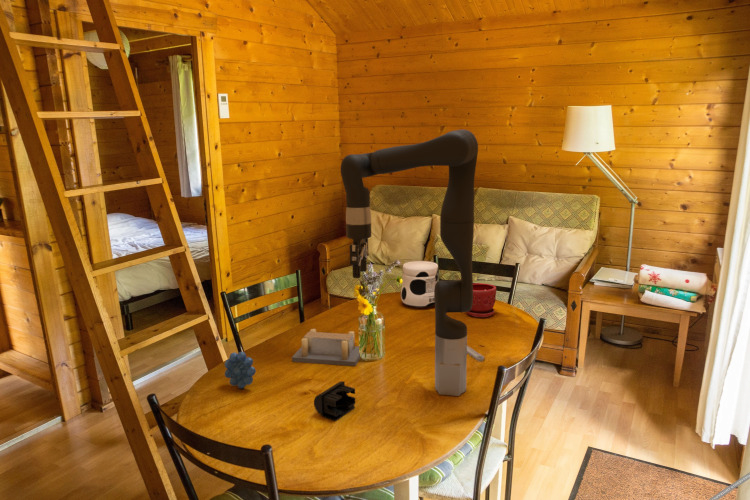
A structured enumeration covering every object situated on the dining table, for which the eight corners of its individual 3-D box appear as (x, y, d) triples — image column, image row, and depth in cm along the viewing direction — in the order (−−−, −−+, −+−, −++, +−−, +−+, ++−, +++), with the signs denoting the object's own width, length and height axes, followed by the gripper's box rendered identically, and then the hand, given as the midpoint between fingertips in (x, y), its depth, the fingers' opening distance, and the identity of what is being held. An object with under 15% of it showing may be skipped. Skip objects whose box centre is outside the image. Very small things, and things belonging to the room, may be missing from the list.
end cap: (336, 400, 159) (336, 378, 157) (356, 407, 155) (356, 384, 153) (313, 415, 151) (312, 392, 149) (334, 422, 147) (333, 399, 145)
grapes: (265, 386, 168) (263, 349, 166) (250, 395, 163) (248, 357, 160) (235, 378, 174) (233, 343, 171) (220, 387, 168) (217, 350, 165)
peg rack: (355, 366, 181) (354, 344, 180) (292, 361, 186) (291, 340, 184) (364, 350, 194) (364, 330, 192) (305, 346, 198) (304, 327, 197)
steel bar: (349, 356, 185) (349, 339, 184) (304, 353, 189) (303, 336, 187) (353, 350, 190) (352, 334, 189) (309, 347, 193) (308, 331, 192)
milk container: (406, 297, 255) (406, 259, 251) (443, 300, 249) (443, 261, 245) (396, 308, 239) (395, 268, 235) (435, 312, 233) (435, 270, 229)
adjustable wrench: (486, 362, 184) (486, 357, 183) (468, 365, 182) (468, 360, 181) (453, 336, 207) (453, 331, 206) (437, 338, 205) (437, 333, 205)
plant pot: (500, 312, 232) (500, 284, 229) (488, 321, 221) (489, 292, 218) (470, 307, 238) (471, 280, 236) (458, 316, 228) (458, 288, 225)
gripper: (365, 225, 157) (366, 280, 160) (375, 218, 171) (376, 269, 174) (340, 225, 159) (341, 279, 162) (352, 218, 172) (353, 269, 176)
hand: (360, 274), depth 168 cm, fingers open, 8 cm apart
